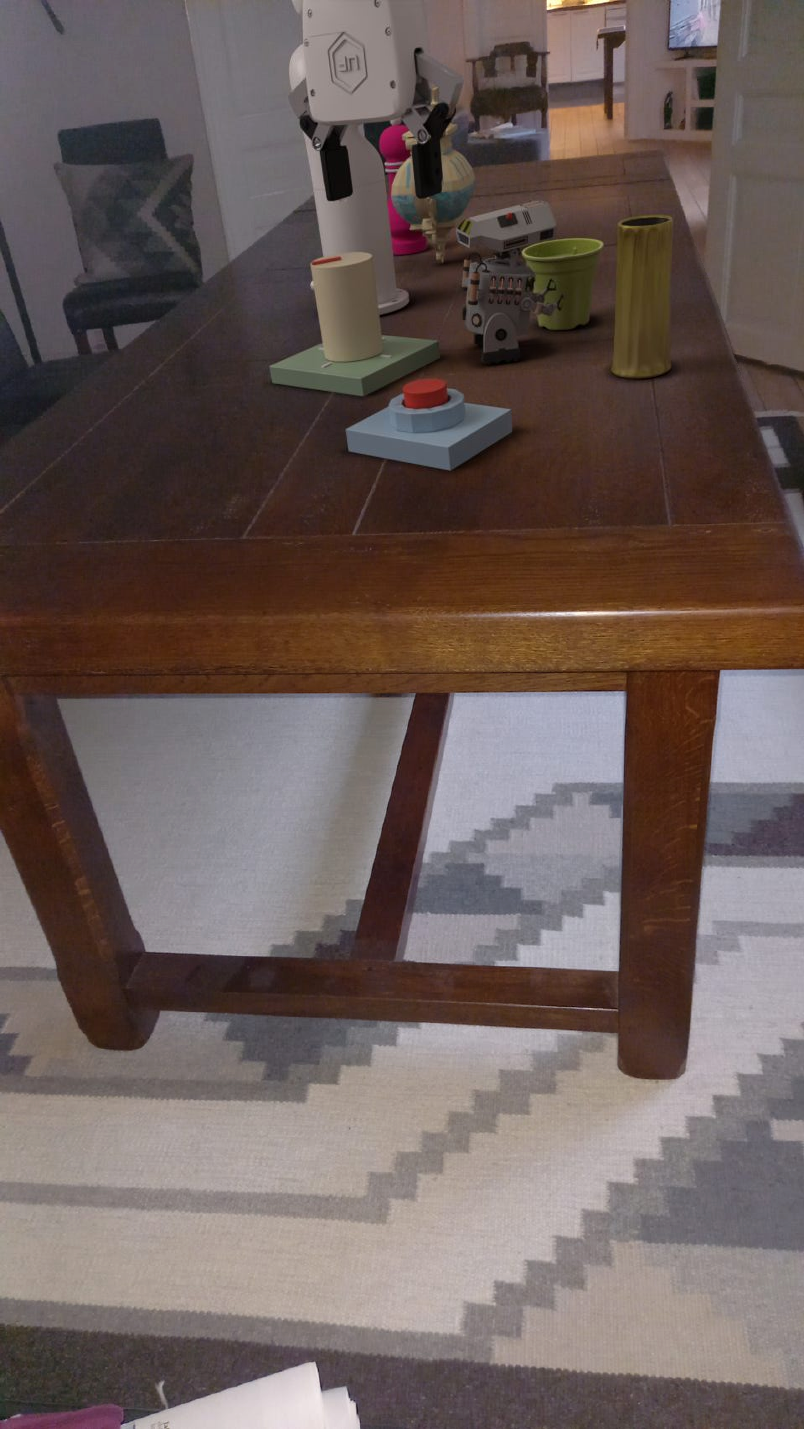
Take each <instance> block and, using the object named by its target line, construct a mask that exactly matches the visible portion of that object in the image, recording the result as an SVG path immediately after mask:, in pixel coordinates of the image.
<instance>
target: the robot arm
mask: <svg viewBox="0 0 804 1429" xmlns="http://www.w3.org/2000/svg"><path fill="white" fill-rule="evenodd" d="M291 2H292V5H293V9H294V10H295V12H296V13H297V15H298V16H299V17H301V18H302V42H303V43H301V44H300V45H299V46H298V47H297V48H296V49H295V50H294V52H292V55H291V57H290V59H289V65H288V77H289V84H290V88H291V91H290V92H289V94H288V102H289V105H290V106H291V108H292V110H293V112H294V114H295V116H296V118H297V119H299V127H300V129H301V130H302V135H303V139H304V142H305V148H306V154H307V160H308V165H309V171H310V177H311V184H312V189H313V198H314V204H315V210H316V217H317V224H318V231H319V236H320V244H321V250H322V255H323V256H322V257H325V256H329V255H334V254H340V253H349V252H365V253H369V254H371V255H372V259H373V267H374V276H375V284H376V292H377V301H378V309H379V316H381V315H386V314H389V313H392V312H393V313H394V312H395V311H399V310H401V309H402V308H404V307H406V306H407V305H408V304H409V303H410V295H409V292H408V291H407V290H406V289H403V288H398V286H397V278H396V276H397V275H396V269H395V268H396V266H395V259H394V254H393V249H392V237H391V230H390V221H389V212H388V194H387V184H386V176H385V168H384V164H383V161H382V160H383V159H382V157H381V155H380V153H379V152H378V150H377V149H376V147H375V146H374V145H373V144H372V143H371V142H370V141H369V140H368V139H367V138H366V137H365V136H364V135H363V134H362V133H361V131H360V130H359V126H360V125H363V124H372V123H382V122H390V120H394V119H397V118H401V121H402V122H403V123H404V125H405V126H407V127H408V129H409V130H410V131H411V133H412V134H413V136H414V137H415V138H416V140H417V144H415V145H412V149H411V152H412V162H413V173H414V183H415V194H416V196H417V197H418V198H419V199H424V198H427V197H430V196H433V195H436V194H439V193H441V191H442V180H443V171H442V159H441V146H440V139H443V138H444V137H445V134H446V129H447V127H448V126H449V124H450V122H451V121H452V122H453V119H454V118H455V116H456V114H457V105H458V103H459V100H460V96H461V92H462V89H463V86H464V76H463V75H462V74H461V73H459V72H458V71H456V70H454V69H452V68H451V67H449V66H448V65H446V64H444V63H443V62H441V61H439V60H437V59H435V58H434V57H432V56H431V53H430V52H429V50H430V40H429V29H428V17H427V15H428V14H427V6H426V5H427V4H426V0H291ZM433 85H435V86H436V87H438V89H439V92H438V102H437V104H436V105H435V106H434V108H433V109H432V108H431V107H430V105H431V102H432V87H433ZM309 286H310V290H311V291H314V292H315V290H314V284H313V280H311V282H310V285H309Z"/></svg>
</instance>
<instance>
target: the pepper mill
mask: <svg viewBox="0 0 804 1429" xmlns="http://www.w3.org/2000/svg"><path fill="white" fill-rule="evenodd" d="M389 123H390V125H391V126H389V127H387V128H385V129H384V130H383V131H382V133H381V135H380V137H379V142H378V143H379V151H380V153H381V155H382V156H383V158H384V159H385V160H386V161H385V162H384V166H385V168H384V172H386V173H387V175H388V180H389V192H388V195H389V196H388V198H387V203H388V212H389V221H390V230H391V240H392V249H393V256H394V255H395V256H405V255H413V254H419V253H422V252H424V251H426V250H427V249H428V241H427V236H426V235H423V234H424V233H423V232H421V231H411V230H410V227H411V225H410V223H408V222H407V221H405V220H404V219H403V218H402V217H401V216H400V215H399V214H398V212H397V211H396V209H395V207H394V205H393V203H392V198H391V191H392V184H393V181H394V179H395V176H396V174H397V171H398V170H399V168H400V167H401V166H402V165H403V164H404V162H405V161H406V160H407V159H408V158H409V157H410V156H411V154H410V153H411V150H406V141H405V140H403V139H402V135H403V134H405V133H406V132H408V131H410V130H409V129H408V127H407V126H406V125H405V124H401V123H402V119H401V118H397V119H394V120H390V121H389Z"/></svg>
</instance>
